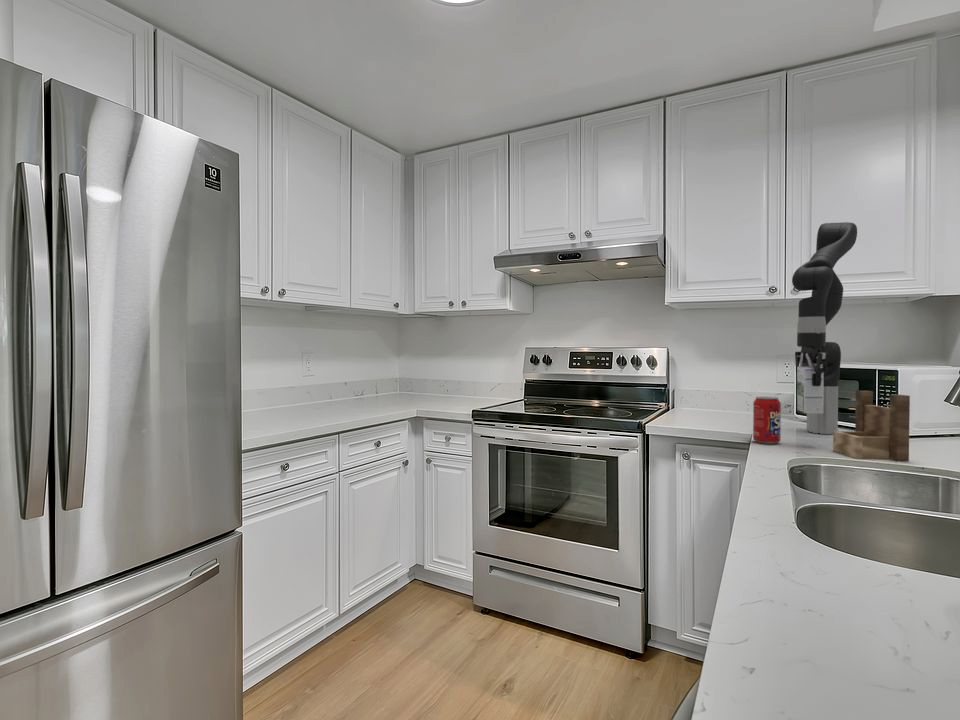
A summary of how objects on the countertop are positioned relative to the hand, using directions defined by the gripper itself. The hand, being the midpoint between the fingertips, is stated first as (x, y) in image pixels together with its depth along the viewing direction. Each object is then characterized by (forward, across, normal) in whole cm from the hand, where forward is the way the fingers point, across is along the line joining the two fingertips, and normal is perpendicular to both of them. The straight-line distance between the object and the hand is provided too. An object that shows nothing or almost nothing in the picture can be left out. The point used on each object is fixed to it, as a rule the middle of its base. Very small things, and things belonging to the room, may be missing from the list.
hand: (810, 384), depth 160 cm
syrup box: (+9, 0, 0) cm, 9 cm away
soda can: (+20, -6, -10) cm, 23 cm away
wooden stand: (+19, +13, +9) cm, 25 cm away
